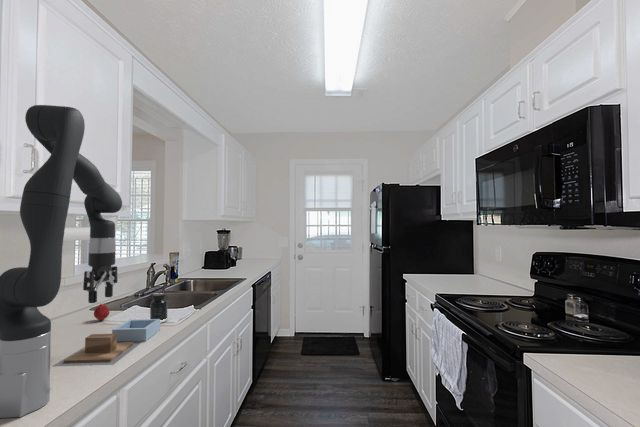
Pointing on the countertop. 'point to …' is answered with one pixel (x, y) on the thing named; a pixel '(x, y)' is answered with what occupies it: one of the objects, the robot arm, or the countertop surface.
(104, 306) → the red bumpy ovoid
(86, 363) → the mat
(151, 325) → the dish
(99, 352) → the lid
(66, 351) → the countertop surface
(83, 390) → the countertop surface
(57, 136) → the robot arm
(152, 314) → the supplement bottle
